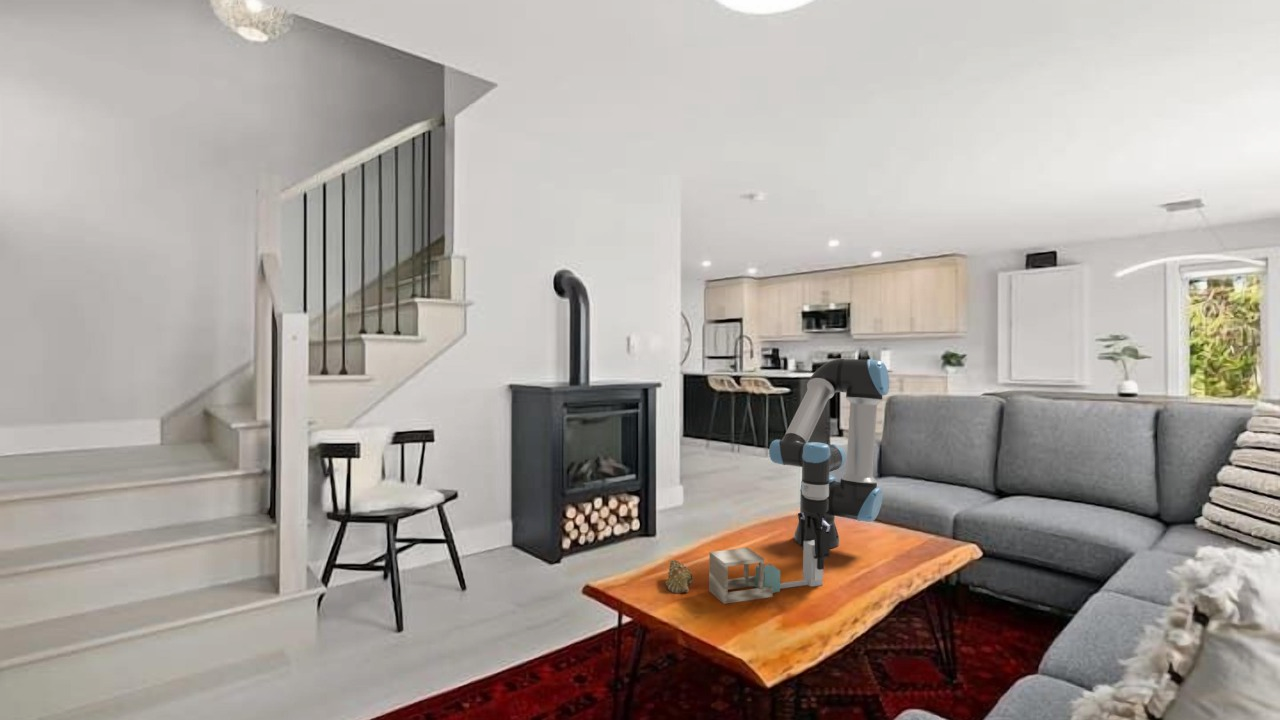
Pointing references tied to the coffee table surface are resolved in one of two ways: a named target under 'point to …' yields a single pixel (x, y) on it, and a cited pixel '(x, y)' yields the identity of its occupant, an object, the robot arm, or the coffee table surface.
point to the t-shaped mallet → (808, 568)
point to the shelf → (722, 583)
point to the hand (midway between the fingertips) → (813, 576)
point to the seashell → (678, 577)
